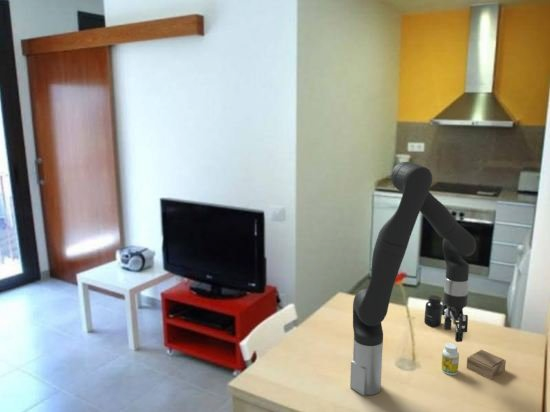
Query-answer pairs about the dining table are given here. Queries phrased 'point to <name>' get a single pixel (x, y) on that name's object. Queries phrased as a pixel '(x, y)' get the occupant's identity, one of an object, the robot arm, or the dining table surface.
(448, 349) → the supplement bottle
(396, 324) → the dining table surface
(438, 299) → the supplement bottle
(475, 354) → the wooden box
